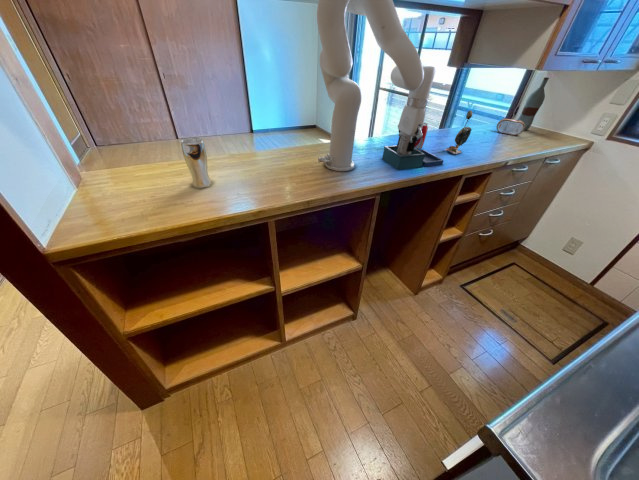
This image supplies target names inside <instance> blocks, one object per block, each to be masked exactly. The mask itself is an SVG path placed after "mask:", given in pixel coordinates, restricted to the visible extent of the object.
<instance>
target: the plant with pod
mask: <svg viewBox="0 0 639 480" xmlns="http://www.w3.org/2000/svg"><path fill="white" fill-rule="evenodd" d="M473 113H474V112H473V111H472V110H468V111H467V113H466V115H465V120H466V122H465V125H464V127H462V128H460V130H459V131H458V132H457V133H456V135H455V138H454V142H455V144H454V145H450V146H449V147H446V148H445V151H448V152H449V153H451V154H453V155H458V154H461V153H462V150H458V149H459V148H460V146H463V145H464V144H465V143H467V141H468V139H469V137H470V135H471V133H472V127H470V126H467V124H468V122H469V120H470V119H471V118H472V117H473Z"/></svg>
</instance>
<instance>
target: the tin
mask: <svg viewBox="0 0 639 480" xmlns="http://www.w3.org/2000/svg"><path fill="white" fill-rule="evenodd" d="M524 128H525V124H524V122H522V121H518V120H517V119H512V118H503V119H500V120H499V121H498V122H497V123H496V131H497V132H498V133H499V134H504V135H510V136H518V135H520V134H522V133H523V132H525V131H524Z"/></svg>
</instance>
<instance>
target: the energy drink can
mask: <svg viewBox="0 0 639 480" xmlns="http://www.w3.org/2000/svg"><path fill="white" fill-rule="evenodd" d="M413 138H414V136H413ZM409 142H410V135H407V134H406V133H405V132H402V133H401V137H400V141H399V146H398V150H397V153H398V154H400V155H401V156H404V155H411V152H407V151H406V150H407V147H408V143H409Z"/></svg>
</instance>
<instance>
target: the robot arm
mask: <svg viewBox="0 0 639 480" xmlns="http://www.w3.org/2000/svg"><path fill="white" fill-rule="evenodd" d="M346 12H347V13H349V14H354V15H358V16H361V17H366V20H367V22H368V25H369V27H370V29H371V31H372V34H373V36H374V38H375V41H376V43H377V46H378V47H379V48H380V50H382V52H383V53H385V54H386V55H387V56H388V57H389V58H390V59H391V60H392V61H393V62H394V64H395V66H394V67H393V68H392V70H391V72H390V81H391V83H392V84H393V85H394V86H395V87H397V88H399V89H403V90H404V91H405V90H406V91H408V95H407V99H406V100H407V101H406V104H405V105H404V107H403V109H402V112H401V115H400V118H399V121H398V124H397V130H398V140H397V144H396V145H397V146H399V141H400V137H401V133H402V132H405V133H406V134H407V135H410V142H409V143H408V147H407V150H406V151H407V152H412V151H413V150H414V146H415V143H416V142H417V141H418V140H419V139H420V138H421V137H422V136H423V135H422V131H421V130H422V127H423V123H425V117H426V107H427V104H428V100H429V97H430V93H431V89H432V86H433V82H434V79H435V75H436V67H435V66H433V65H425V64H422V60H421V58H420V55H419V52H418V49H417V48H416V47H415V45H414V43H413V42H412V40H411V39H410V37H409V35H408V34H407V33H406V32H405V30H404V28H403V25H402V23H401V21H400V18H399V14H398V11H397V9H396V6H395V3H394V0H318V2H317V11H316V23H317V29H318V34H319V38H320V43H321V51H320V53H319V67H320V71H321V75H322V77H323V82H324V87H325V90H326V92H327V95H328V97H329V99H330V100H331V101H332V103H333V104H334V107H333V111H332V118H331V129H330V139H329V153H326V155H325V156H320V157H318V158H317V161H318V163H323V164H324V166H325V167H326V168H327V169H329V170H332V171H334V172H335V171H336V172H348V171H352V170H354V168H355V166H356V165H355V162H354V161H353V160H352V158H353V151H354V143H355V139H356V138H355V137H356V130H357V121H358V116H359V111H360V107H361V105H362V100H363V93H362V90H361V87H360V86H359V84H358V83H357V82H356V81H354V80H352V79H351V78H350V77H349V74H350V72H351V70H352V68H353V56H352V51H351V46H350V42H349V37H348V32H347V26H346V25H347V24H346ZM413 136H414V138H413Z"/></svg>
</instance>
